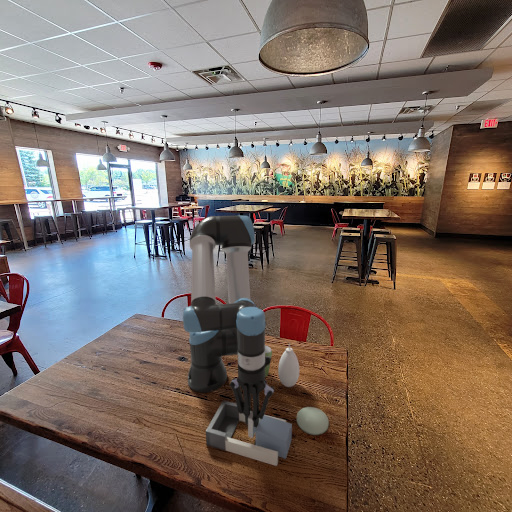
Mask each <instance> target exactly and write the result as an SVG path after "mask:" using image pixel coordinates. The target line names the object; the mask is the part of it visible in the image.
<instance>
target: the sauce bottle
mask: <svg viewBox="0 0 512 512" xmlns="http://www.w3.org/2000/svg"><path fill="white" fill-rule="evenodd" d="M277 375H278V379H279V381H280V382H281V384H282V385H283V386H285V387H287V388H292V387H294V386H295V385H296V384H297V382H298V379H299V377H300V364H299V359H298V356H297V355H296V353H295V352H294V350H293V348H292V347H291V344H290V342H289V343H288V347H286V348H285V351H284V352H283V353H282V355H281V356H280V358H279V362H278V368H277Z"/></svg>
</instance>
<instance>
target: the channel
mask: <svg viewBox="0 0 512 512" xmlns="http://www.w3.org/2000/svg"><path fill="white" fill-rule="evenodd" d="M264 415H265V416H269V417H272V418H275V419H278V420H281V421H284V422H287V420H286V419H283V418H280V417H275V416H270V415H267V414H264ZM260 420H261V419H260V418H259V422H260ZM239 422H242V423H245V415H244V414H243V413H242V414H240V413H239ZM225 448H226V452H230V453H233V454H236V455H238V456H239V455H240V456H243V457H246V458H248V459H253V460H255V461H259V462H261V463H266V464H269V465H272V466H276V467H278V464H279V456H278V452H277V451H274V450H270V449H267V448H264V447H260V446H257V445H256V444H253V443H249V442H245V441H241V440H239V439H236V438H229V437H227V438H226V440H225Z"/></svg>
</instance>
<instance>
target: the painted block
mask: <svg viewBox="0 0 512 512" xmlns="http://www.w3.org/2000/svg"><path fill="white" fill-rule="evenodd" d="M265 415H266V414H264V416H263V419H261V420H260V422H259V424H258V426H257V427H256V431H255V434H254V436H255V445H257V446H260V447H264V448H267V449H270V450H274V451H277V452H278V458H282V459H285V460H286V459H287V456H288V454H289V451H290V447H291V442H292V438H293V437H292V436H293V435H292V434H293V433H292V432H293V427H292V426H293V423H290V422H287V421H286V422H284V421H281V420H278V419H275V418H276V417H275V418H272V417H273V416H271V417H269V416H270V415H267V416H265Z"/></svg>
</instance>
